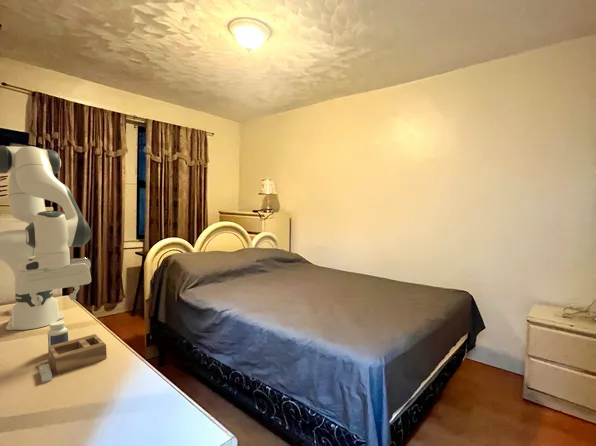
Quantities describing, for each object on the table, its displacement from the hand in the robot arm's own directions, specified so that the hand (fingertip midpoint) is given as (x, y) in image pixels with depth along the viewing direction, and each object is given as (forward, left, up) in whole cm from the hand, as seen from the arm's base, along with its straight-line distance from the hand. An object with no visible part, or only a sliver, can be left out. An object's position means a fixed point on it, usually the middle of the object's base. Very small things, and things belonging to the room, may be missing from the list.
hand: (56, 302), depth 108 cm
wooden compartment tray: (+11, +3, -17) cm, 20 cm away
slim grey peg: (+16, -6, -17) cm, 24 cm away
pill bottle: (0, 0, -17) cm, 17 cm away
